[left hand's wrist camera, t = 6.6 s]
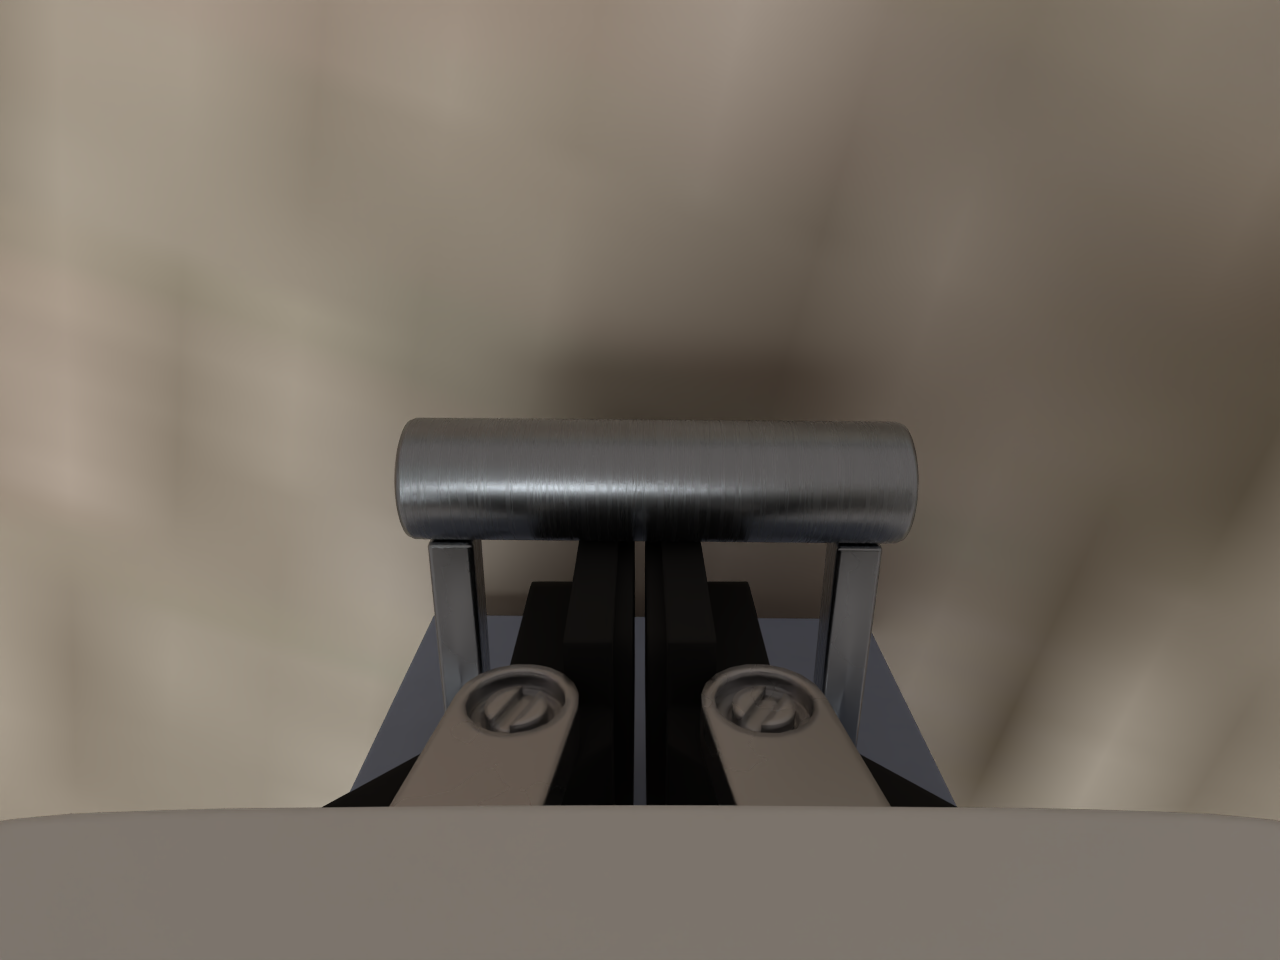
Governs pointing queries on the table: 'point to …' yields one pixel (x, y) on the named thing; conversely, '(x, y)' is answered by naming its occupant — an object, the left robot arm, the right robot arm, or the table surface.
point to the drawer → (660, 511)
